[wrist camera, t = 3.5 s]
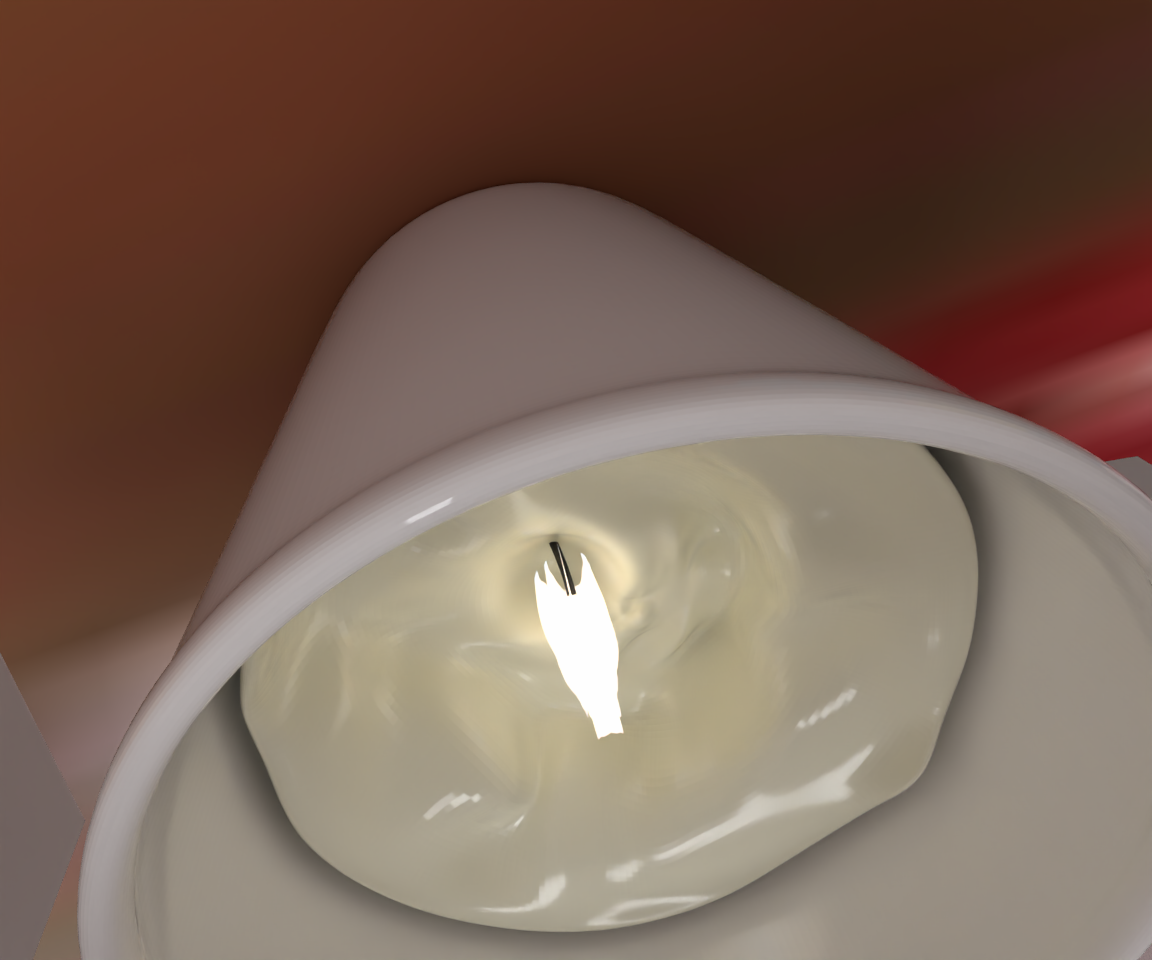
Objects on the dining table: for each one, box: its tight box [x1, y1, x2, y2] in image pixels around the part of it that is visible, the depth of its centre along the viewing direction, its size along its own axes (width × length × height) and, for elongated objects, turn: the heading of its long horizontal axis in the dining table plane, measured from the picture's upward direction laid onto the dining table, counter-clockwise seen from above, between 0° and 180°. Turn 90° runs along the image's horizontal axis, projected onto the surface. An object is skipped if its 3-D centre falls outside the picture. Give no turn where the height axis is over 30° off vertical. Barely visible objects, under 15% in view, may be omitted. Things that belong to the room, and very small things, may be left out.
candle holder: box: [77, 182, 1152, 960], centre depth 13 cm, size 10×10×12 cm
